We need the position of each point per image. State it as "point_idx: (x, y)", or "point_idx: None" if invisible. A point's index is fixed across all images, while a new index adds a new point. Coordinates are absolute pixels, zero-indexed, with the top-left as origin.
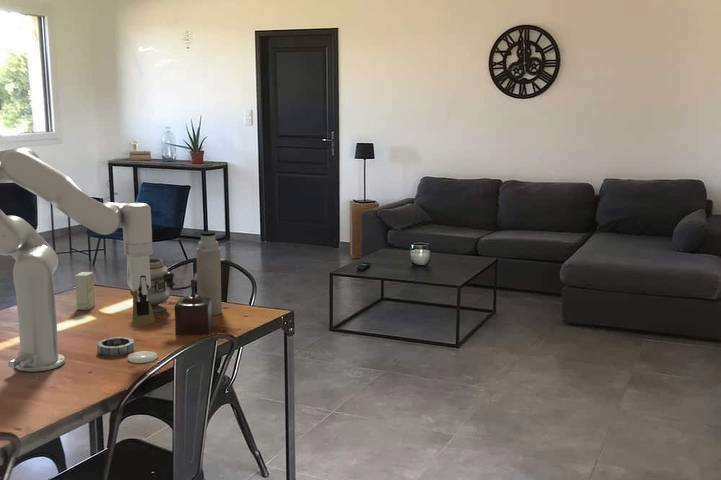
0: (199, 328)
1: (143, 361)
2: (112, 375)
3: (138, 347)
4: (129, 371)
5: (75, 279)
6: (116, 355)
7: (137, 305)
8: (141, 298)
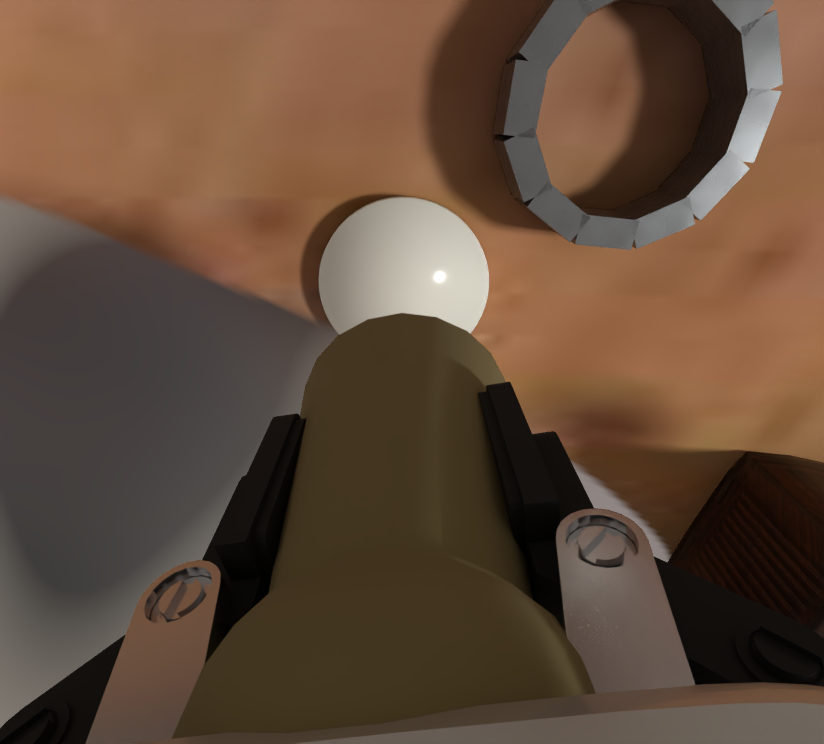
0: (699, 565)
1: (319, 289)
2: (116, 94)
3: (618, 262)
4: (187, 205)
5: None
6: (496, 118)
7: (240, 507)
8: (73, 686)
